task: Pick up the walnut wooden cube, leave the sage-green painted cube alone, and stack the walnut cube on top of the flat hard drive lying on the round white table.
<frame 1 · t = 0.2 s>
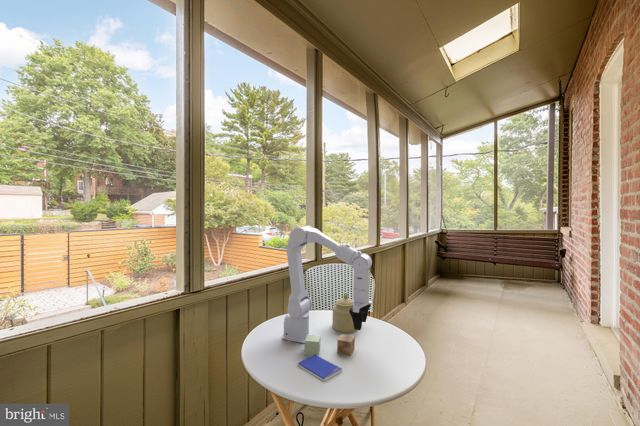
hand: (360, 325, 115), 10 cm above the table, tool pointing down, fingers open, 7 cm apart
hard drive: (319, 370, 104), on the table
sage cube: (312, 351, 115), on the table
beige teapot: (347, 326, 138), on the table
walnut cube: (345, 351, 116), on the table
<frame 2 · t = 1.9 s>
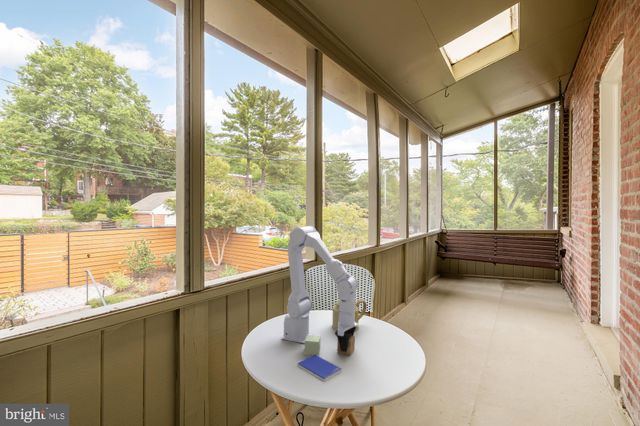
hand: (346, 347, 116), 1 cm above the table, tool pointing down, fingers closed on walnut cube, 5 cm apart
walnut cube: (345, 351, 116), on the table, touching gripper
everything else where it was.
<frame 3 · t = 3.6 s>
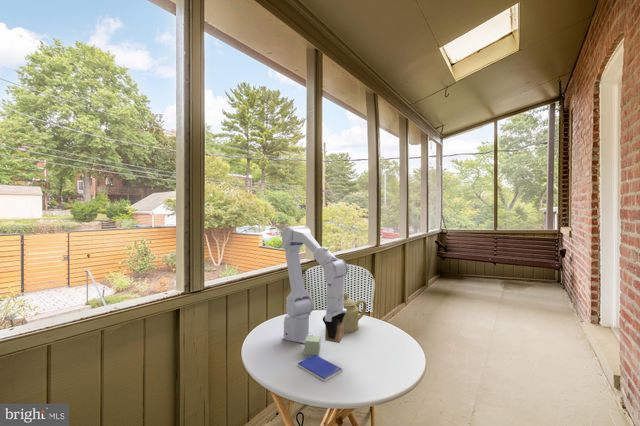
hand: (334, 334, 110), 8 cm above the table, tool pointing down, fingers closed on walnut cube, 5 cm apart
walnut cube: (334, 338, 110), point 7 cm above the table, touching gripper
everything else where it was.
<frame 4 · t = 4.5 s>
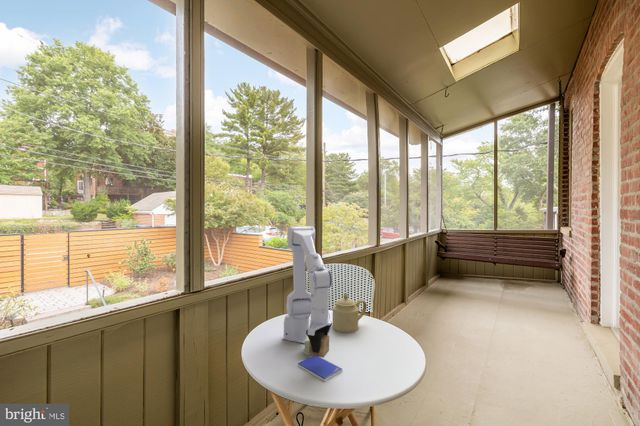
hand: (319, 348, 104), 6 cm above the table, tool pointing down, fingers closed on walnut cube, 5 cm apart
walnut cube: (319, 352, 104), point 5 cm above the table, touching gripper
everything else where it was.
when the fingers open (5 cm above the table, at t = 5.3 s): walnut cube drops 2 cm, resting on hard drive.
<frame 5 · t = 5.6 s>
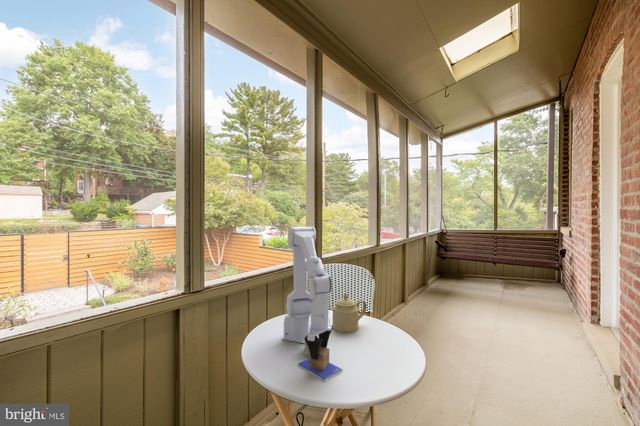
hand: (318, 353, 104), 5 cm above the table, tool pointing down, fingers open, 7 cm apart
hard drive: (319, 371, 104), on the table, touching walnut cube
walnut cube: (319, 365, 104), point 1 cm above the table, touching hard drive
everything else where it was.
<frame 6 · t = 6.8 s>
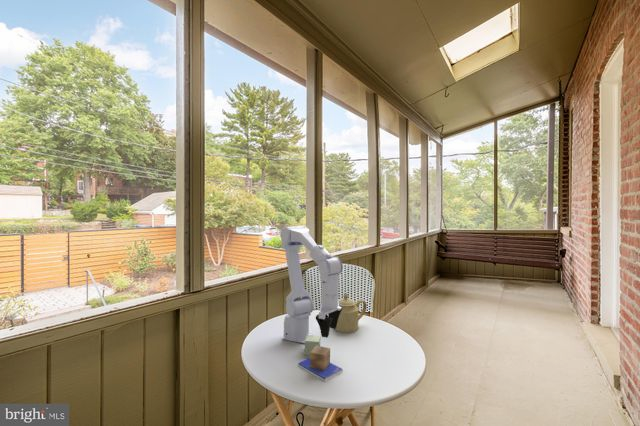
hand: (329, 332, 110), 9 cm above the table, tool pointing down, fingers open, 7 cm apart
hard drive: (320, 370, 104), on the table
walnut cube: (320, 365, 104), point 1 cm above the table
everything else where it was.
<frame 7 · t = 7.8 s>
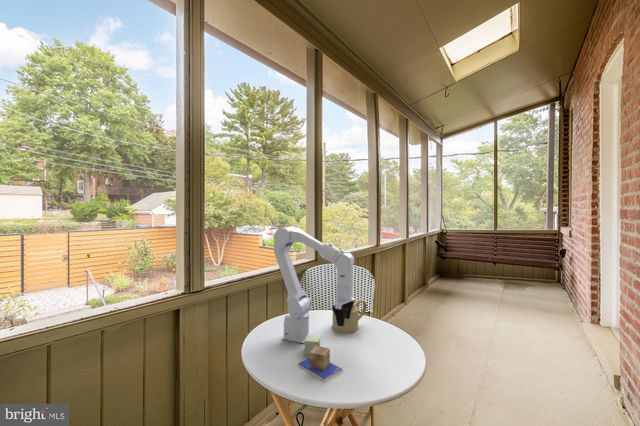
hand: (343, 321, 119), 9 cm above the table, tool pointing down, fingers open, 7 cm apart
hard drive: (320, 370, 104), on the table, touching walnut cube
walnut cube: (319, 365, 104), point 1 cm above the table, touching hard drive
everything else where it was.
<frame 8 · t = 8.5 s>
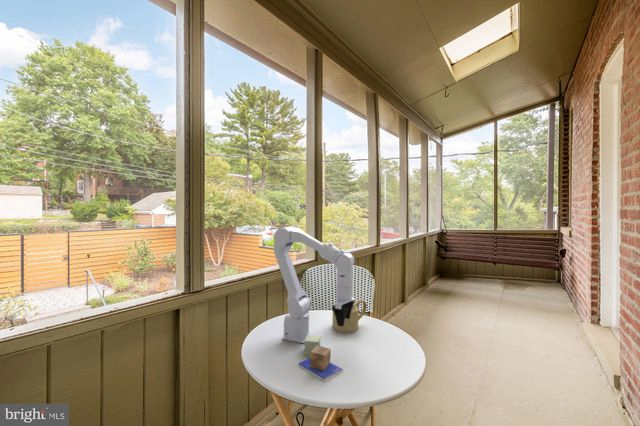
hand: (343, 321, 119), 9 cm above the table, tool pointing down, fingers open, 7 cm apart
hard drive: (320, 370, 104), on the table
walnut cube: (320, 365, 104), point 1 cm above the table
everything else where it was.
at the end: walnut cube inside the target area on the hard drive (0.2 cm from its centre), point 1.8 cm above the hard drive's base; walnut cube tilted 0°; the gripper is holding nothing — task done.
